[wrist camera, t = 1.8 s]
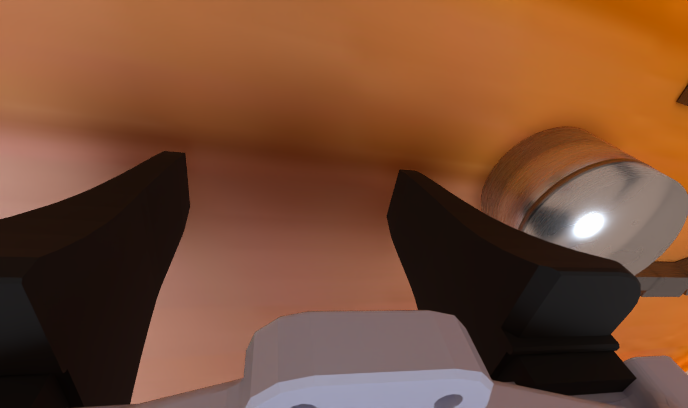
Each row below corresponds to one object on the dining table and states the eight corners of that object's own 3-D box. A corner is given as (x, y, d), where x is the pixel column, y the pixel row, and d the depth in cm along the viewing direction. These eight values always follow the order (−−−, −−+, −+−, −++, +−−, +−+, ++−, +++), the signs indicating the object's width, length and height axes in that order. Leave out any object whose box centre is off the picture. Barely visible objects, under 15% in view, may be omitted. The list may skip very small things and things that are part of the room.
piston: (562, 235, 18) (625, 297, 15) (462, 231, 17) (506, 297, 13) (627, 132, 15) (725, 181, 12) (511, 119, 14) (583, 168, 10)
